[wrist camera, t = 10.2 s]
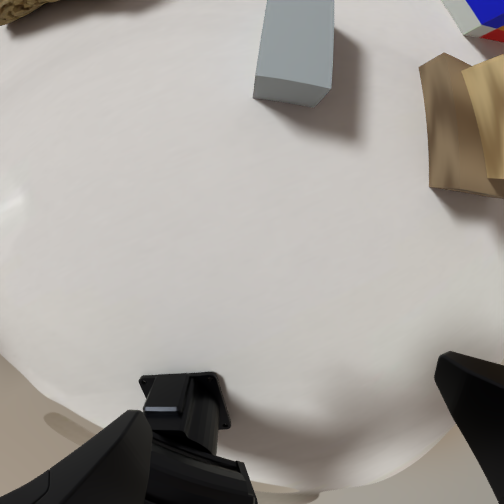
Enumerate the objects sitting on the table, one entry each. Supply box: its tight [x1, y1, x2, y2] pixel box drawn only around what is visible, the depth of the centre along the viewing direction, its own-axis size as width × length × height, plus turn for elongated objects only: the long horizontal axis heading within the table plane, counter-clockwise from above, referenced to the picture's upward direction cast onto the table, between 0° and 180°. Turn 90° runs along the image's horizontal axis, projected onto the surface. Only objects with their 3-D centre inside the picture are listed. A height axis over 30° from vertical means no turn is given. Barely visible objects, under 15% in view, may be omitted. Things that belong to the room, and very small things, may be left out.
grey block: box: [253, 0, 334, 108], centre depth 13 cm, size 8×4×4 cm, turn 173°
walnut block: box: [419, 53, 504, 199], centre depth 15 cm, size 10×8×4 cm
